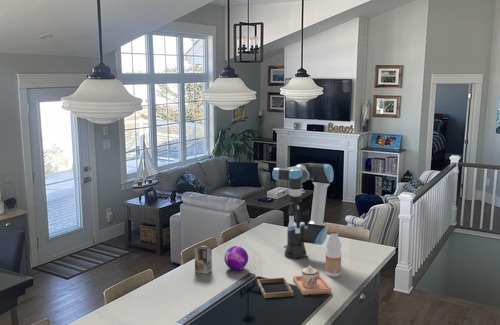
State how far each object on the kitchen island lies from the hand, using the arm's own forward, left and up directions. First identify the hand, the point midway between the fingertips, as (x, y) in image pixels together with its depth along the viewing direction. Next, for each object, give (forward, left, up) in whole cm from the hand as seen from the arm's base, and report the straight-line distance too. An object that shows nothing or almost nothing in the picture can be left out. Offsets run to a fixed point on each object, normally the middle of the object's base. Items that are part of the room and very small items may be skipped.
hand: (294, 229), depth 300 cm
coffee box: (-20, -53, -31) cm, 65 cm away
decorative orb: (-20, -32, -31) cm, 49 cm away
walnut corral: (+14, -15, -31) cm, 37 cm away
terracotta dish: (+14, +7, -31) cm, 34 cm away
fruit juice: (-2, +26, -31) cm, 40 cm away
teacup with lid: (+13, +7, -30) cm, 34 cm away
